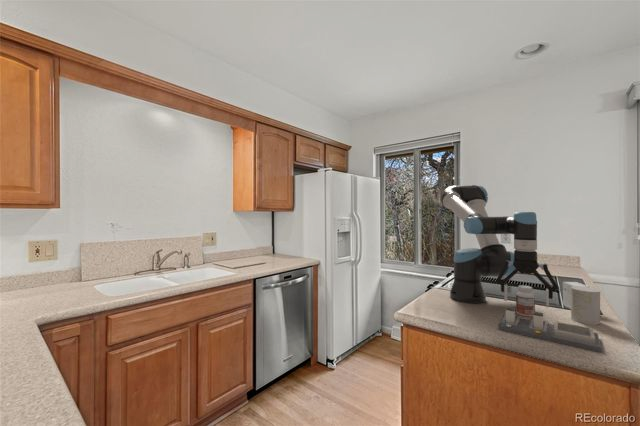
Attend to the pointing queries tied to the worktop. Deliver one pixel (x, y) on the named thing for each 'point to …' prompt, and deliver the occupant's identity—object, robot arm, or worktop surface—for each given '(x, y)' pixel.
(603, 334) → the worktop surface
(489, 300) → the worktop surface
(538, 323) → the toggle
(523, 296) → the pill bottle
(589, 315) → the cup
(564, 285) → the small box
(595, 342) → the panel
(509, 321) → the toggle
